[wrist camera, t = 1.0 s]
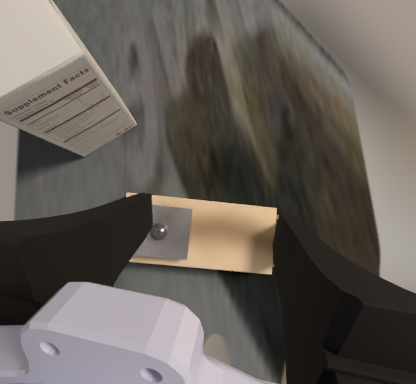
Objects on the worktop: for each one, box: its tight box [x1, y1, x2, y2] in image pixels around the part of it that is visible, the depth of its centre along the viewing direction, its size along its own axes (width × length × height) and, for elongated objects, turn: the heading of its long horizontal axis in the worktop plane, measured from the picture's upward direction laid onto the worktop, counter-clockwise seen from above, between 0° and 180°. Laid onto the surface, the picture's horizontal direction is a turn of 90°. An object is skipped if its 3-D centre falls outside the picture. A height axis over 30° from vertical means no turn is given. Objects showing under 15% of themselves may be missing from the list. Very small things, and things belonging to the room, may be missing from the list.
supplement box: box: [0, 0, 137, 157], centre depth 19 cm, size 7×7×13 cm
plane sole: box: [126, 192, 279, 274], centre depth 24 cm, size 7×17×2 cm, turn 84°
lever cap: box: [134, 205, 193, 260], centre depth 21 cm, size 5×6×2 cm
